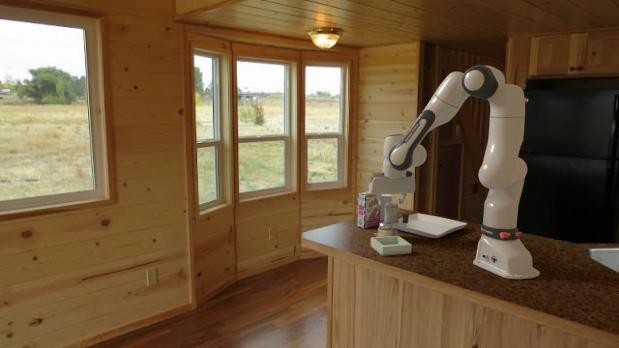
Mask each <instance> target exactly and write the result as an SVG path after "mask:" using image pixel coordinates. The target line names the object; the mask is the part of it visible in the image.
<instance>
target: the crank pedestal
mask: <svg viewBox="0 0 619 348" xmlns="http://www.w3.org/2000/svg"><path fill="white" fill-rule="evenodd" d="M392 230H393V229H392V228H391V229H390V230H383V229H380V228H379V227H378V228H377V232H373V233H372V235H373V234H374V235H373V236H374V237H385V236H392Z"/></svg>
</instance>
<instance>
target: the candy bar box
mask: <svg viewBox="0 0 619 348" xmlns="http://www.w3.org/2000/svg"><path fill="white" fill-rule="evenodd" d="M357 197H358V199H357V222H356V223H357V224H356V227H358V228H360V229H363V230H365V228H366V229H369V228H374V227H377V226H379V223H380V222H381V220H380V211H381V205H380V204H379V200H378V198H377V195H373V194H371V193H370V192H369V191H364V192H358V196H357ZM380 198H381V197H380Z"/></svg>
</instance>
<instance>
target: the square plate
mask: <svg viewBox="0 0 619 348" xmlns="http://www.w3.org/2000/svg"><path fill="white" fill-rule="evenodd" d="M398 222H403V216H402V217H399V221H398ZM467 225H468V223H466V222H464V221H463V222H462V221H458V220H454V219H450V218H446V217H445V218H444V217H441V216H436V215H435V216H434V215H430V214H424V213H418V212H417V213H413V214H409V220H408V223H406V228H398V231H402V232H405V233H409V234H413V235H416V236H422V237H426V238H429V239H430V238H432V239H439V238H442V237H444V236H446V235H448V234H451V233H453V232H456V231H458V230H462V229H463V228H464V227H466V226H467Z"/></svg>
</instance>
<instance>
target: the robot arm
mask: <svg viewBox="0 0 619 348" xmlns="http://www.w3.org/2000/svg"><path fill="white" fill-rule="evenodd" d="M470 96H471V97H475V98H479V99H481V100H487V101H488V102H489V106H490V110H489V111H490V112H489V113H490V114H489V127H488V139H487V144H486V149H485V152H484V156H483V161H482V164H481V166H480V168H479V171H478V179H479V182H480V183H481V185H482V186H483V187H485V188H486V189H489V190H488V193H487V196H486V199H485V201H484V203H483V204H484V205H483V206H484V207H483V218H482V219H483V221H482V223H481V226H480V233H481V237H480V239H479V241H478V243H477V249H476V255H475V259H473V263H472V265H475V266H477V267H479V268H481V269H484V270H487V271H488V272H491V273H493V274H495V275H496V276H500V277H502V278H505V279H510V280H524V279H527V280H528V279H533V278H537V277H539V276H540V274H541V271H539V270H538V269H536V267H533V256H532V254H531V253H530V251H529V250H528V249H527V248H526V247H525V245H524V244H523V243H522V241H521V240H520V235H521V234H522V231H519V228H518V226H517V223H518V212H519V204H520V199H521V195H522V193H523V188H524V183H525V178H526V175H527V173H528V166H527V163H526V161H524V159H523V158H521V157H519V153H520V149H521V146H522V144H523V142H524V133H525V122H526V121H525V117H526V102H525V94H524V90H523V88H522V87H520V86H519V85H516V84H512V83H510V84H509V83H508V77H507V75H506V74H505V72H504V71H502V70H501V69H499V68H496V67H494V66H491V65H485V64H484V65H483V64H477V65H473V66H471V67H469V68H467V69H466V70H465V71H464V73H463V72H462V71H452V72H450V73H449V74H448V75H447V76H446V77H445V78H444V80H443V81H441V83H440V85H439V86H438V87H437V88H436V90H435V92H434V93H433V95H432V96H431V98H430V100H429V101H428V103H427V105H426V106H425V107H424V109H423V110H422V112H421V113H420V114H419V115H418V117H417V118H416V119H415V121H414V122H413V123H412V124H411V127H410V128H409V129H408V130H407V131H406V133H405V135H404V134H403V133H397V134H396V133H395V134H389V135H387V136H386V137H385V139H384V143H383V150H382V151H383V152H382V153H383V163H382V172H380V171H379V172H373V173H372V174H370V175H369V185H368V192H370V193H371V194H373V195H377V198H378V200H379V204H380V205H381V204H384V203H383V202H384V201H383V200H381V198H380V197H381V196H382V194H391V195H397V194H399V195H400V194H401V195H402V196H401V198H399V199H398V203H399V204H400V205H401V204H404V203H405V200H406V198H407V196H408V194H414V193H415V192H416V179H415V178H414V177H415V171H412V170H409V169H413V168H416V167H420V166H422V165H423V164H424V163H425V162H426V161H427V156H428V154H427V149H426V147H425V146H423V145H422V144H421V142H422V141H423V140H424V138H425V136H427V134H428V133H429V132H431V131H432V130H434V129H436V128H437V127H439V126H441V125H444V124H446V123H448V122H450V121H451V120H452V119H453V118H454V117H455V116H456V115H457V113H458V112H459V110H460V109H461V107H462V106H463V104H464V103H465V101H466V100H467V99H468V98H469V97H470Z"/></svg>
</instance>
